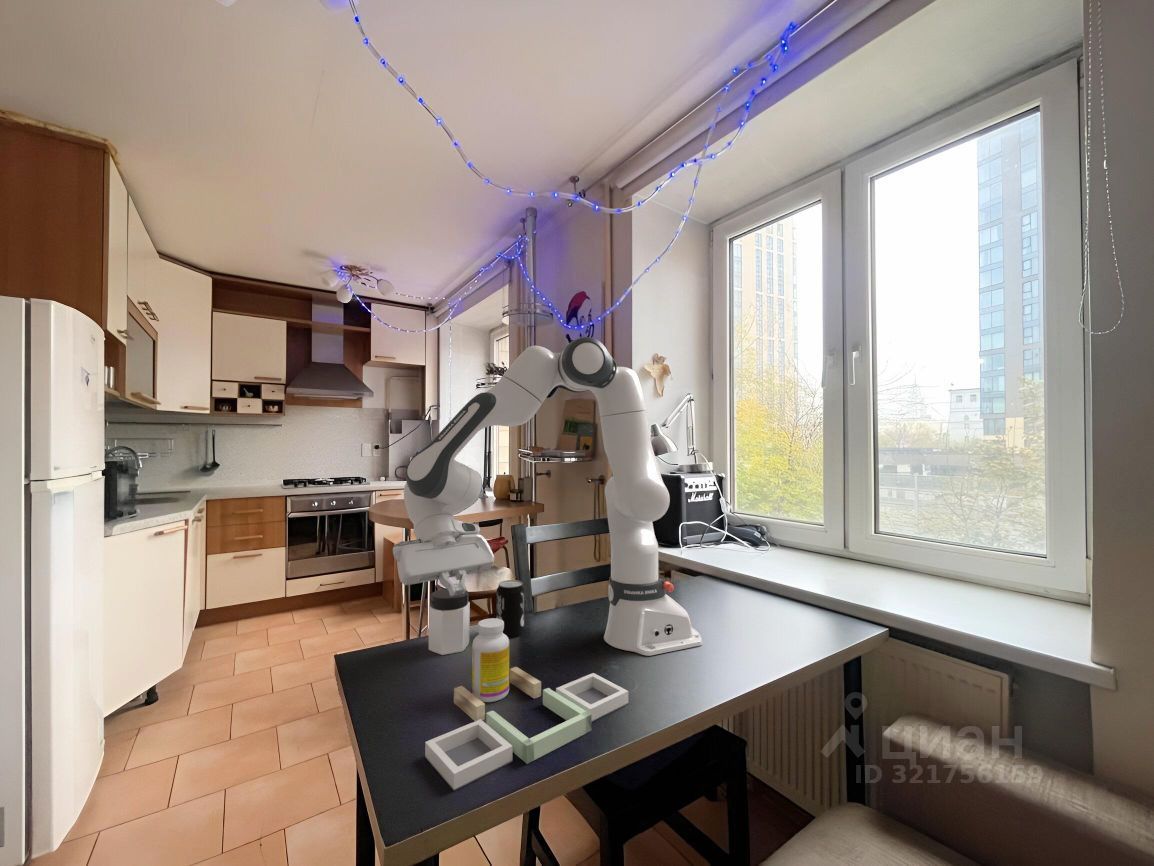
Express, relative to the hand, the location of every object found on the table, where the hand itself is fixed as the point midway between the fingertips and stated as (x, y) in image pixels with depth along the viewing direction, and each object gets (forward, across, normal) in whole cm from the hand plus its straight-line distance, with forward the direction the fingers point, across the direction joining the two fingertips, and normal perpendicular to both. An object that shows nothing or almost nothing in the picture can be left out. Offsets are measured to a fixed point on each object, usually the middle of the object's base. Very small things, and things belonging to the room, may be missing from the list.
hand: (458, 593), depth 97 cm
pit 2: (+30, +12, -8) cm, 33 cm away
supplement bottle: (+20, 0, +2) cm, 20 cm away
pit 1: (+30, -12, -8) cm, 33 cm away
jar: (+3, +4, +19) cm, 20 cm away
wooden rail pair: (+21, 0, 0) cm, 21 cm away
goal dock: (+30, 0, -8) cm, 31 cm away
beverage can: (+4, +19, +18) cm, 26 cm away
